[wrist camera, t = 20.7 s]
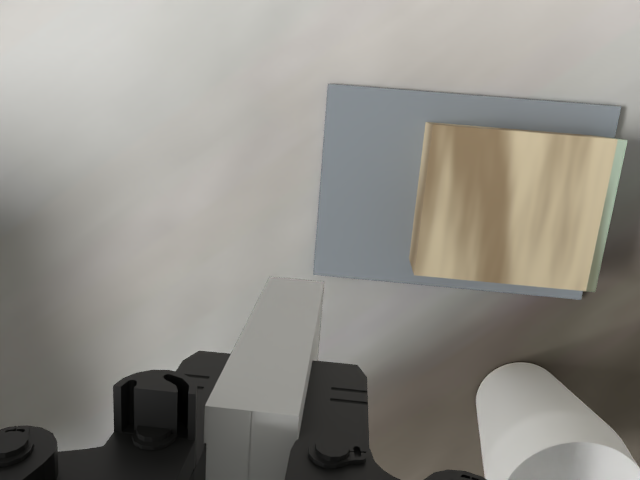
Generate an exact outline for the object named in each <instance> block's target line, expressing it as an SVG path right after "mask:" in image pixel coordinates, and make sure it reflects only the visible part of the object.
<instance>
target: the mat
mask: <svg viewBox="0 0 640 480" xmlns="http://www.w3.org/2000/svg"><path fill="white" fill-rule="evenodd" d="M620 110H621V106H609V105H596V104H583V103H570V102H557V101H544V100H531V99H518V98H505V97H492V96H480V95H467V94H454V93H441V92H428V91H415V90H402V89H389V88H376V87H363V86H350V85H338V84H328V90H327V103H326V116H325V129H324V142H323V155H322V169H321V182H320V195H319V208H318V221H317V234H316V247H315V260H314V273H313V275H322V276H333V277H343V278H354V279H365V280H375V281H386V282H397V283H407V284H418V285H429V286H439V287H450V288H461V289H471V290H482V291H493V292H503V293H514V294H525V295H535V296H546V297H557V298H567V299H578V300H581V298H582V293H583V291H577V290H567V289H556V288H545V287H534V286H524V285H513V284H502V283H491V282H481V281H470V280H459V279H448V278H438V277H427V276H416V275H414V273H413V270H412V267H411V264H410V260H409V254H410V246H411V238H412V230H413V222H414V213H415V205H416V197H417V189H418V181H419V172H420V164H421V156H422V148H423V139H424V131H425V123H426V122H432V123H445V124H457V125H470V126H482V127H495V128H507V129H520V130H532V131H545V132H557V133H570V134H582V135H595V136H604V137H610V138H615V134H616V130H617V125H618V120H619V115H620Z"/></svg>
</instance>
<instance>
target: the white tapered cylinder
mask: <svg viewBox="0 0 640 480" xmlns="http://www.w3.org/2000/svg"><path fill="white" fill-rule="evenodd" d="M476 409H477V417H478V426H479V434H480V442H481V451H482V459H483V467H484V475H485V479H487V480H640V468H639V466H638V465H637V463H636V462H635V460H634V459H633V457H632V455H631V454H630V452H629V450H628V449H627V447H626V445H625V444H624V442H623V441H622V439H621V438H620V437H619V435H618V434H617V433H616V432H615V431H614V430H613V429H612V428H611V427H610V426H609V425H608V424H607V423H606V422H604V421H603V420H602V419H601V418H600V417H599V416H598V415H597V414H596V413H594V412H593V411H592V410H591V409H590V408H589V407H588V406H587V405H585V404H584V403H583V402H582V401H581V400H580V399H579V398H578V397H576V396H575V395H574V394H573V393H572V392H571V391H570V390H569V389H567V388H566V387H565V386H564V385H563V384H562V383H561V382H560V381H558V380H557V379H556V378H555V377H554V376H553V375H552V374H551V373H549V372H548V371H547V370H545V369H544V368H542V367H540V366H538V365H535V364H531V363H524V362H517V363H510V364H506V365H503V366H501V367H499V368H497V369H495V370H494V371H492V372H491V373H490V374H489V375H487V376H486V378H485V379H484V380H483V381H482V383H481V384H480V386H479V389H478V391H477V395H476Z"/></svg>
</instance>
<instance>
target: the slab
mask: <svg viewBox="0 0 640 480" xmlns="http://www.w3.org/2000/svg"><path fill="white" fill-rule="evenodd" d="M627 141H628V140H623V139H617V138H610V137H604V136H595V135H582V134H570V133H557V132H545V131H532V130H520V129H507V128H495V127H482V126H470V125H457V124H445V123H432V122H426V123H425V131H424V139H423V148H422V156H421V164H420V172H419V181H418V189H417V197H416V205H415V213H414V222H413V230H412V238H411V246H410V254H409V260H410V264H411V267H412V270H413V273H414V275H416V276H427V277H438V278H448V279H459V280H470V281H481V282H491V283H502V284H513V285H524V286H534V287H545V288H556V289H567V290H577V291H588V292H595V291H596V286H597V281H598V277H599V272H600V267H601V263H602V258H603V253H604V249H605V244H606V239H607V235H608V230H609V225H610V221H611V216H612V211H613V207H614V202H615V197H616V193H617V188H618V183H619V179H620V174H621V169H622V165H623V160H624V155H625V151H626V146H627Z"/></svg>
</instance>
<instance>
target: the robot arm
mask: <svg viewBox="0 0 640 480" xmlns="http://www.w3.org/2000/svg"><path fill="white" fill-rule="evenodd" d="M323 290H324V282H323V281H312V280H301V279H291V278H280V277H269V279H268V281H267V283H266V285H265V287H264V289H263V291H262V293H261V295H260V297H259V299H258V301H257V303H256V305H255V307H254V309H253V311H252V313H251V315H250V317H249V319H248V321H247V323H246V325H245V327H244V329H243V331H242V333H241V335H240V337H239V339H238V341H237V343H236V345H235V347H234V349H233V351H232V353H231V354H227V353H217V352H207V351H198V352H196V353H195V354H193V355H191V356H190V357H188V358H186V359H185V360H183V361H182V363H181V364H180V366H179V367H178V369H177V370H176V372H175V371H170V370H150V371H144V372H139V373H135V374H133V375H130V376H128V377H125V378H123V379H121V380H120V381H119V382H118V383H116V384H115V385H114V386H113V399H114V433H113V434H112V436H111V437H110V438H109V440H108V441H107V442H106V444H105V445H104V446H102V447H96V448H90V449H82V450H72V451H62V452H57V441H56V439H55V437H54V435H53V433H51V432H49V431H47V430H45V429H43V428H40V427H32V426H18V427H16V426H14V427H7V428H5V429H1V430H0V480H400V479H398V478H395V477H393V476H392V475H390V474H389V473H387V472H385V471H384V470H383V469H382V468H381V467H380V466H379V465H377V464H376V463H375V461H374V459H373V456H372V453H371V450H370V449H369V429H368V395H367V377H366V376H365V374H364V373H363V372H362V370H361V369H360V368H359V367H358V365H352V364H342V363H333V362H323V361H318V351H319V339H320V327H321V315H322V302H323ZM424 480H487V479H485V478H483V477H481V476H478V475H475V474H472V473H469V472H466V471H457V470H445V471H440V472H435V473H433V474H431V475H430V476H428V477H427V478H426V479H424Z"/></svg>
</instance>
